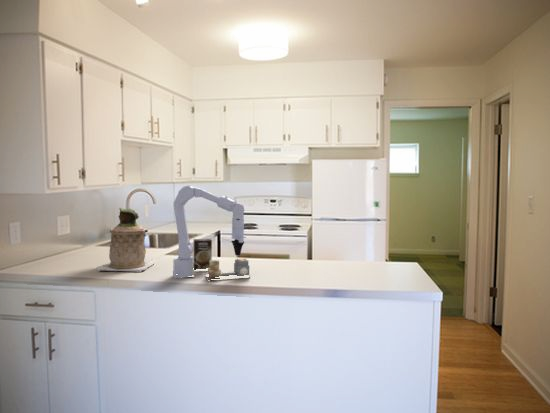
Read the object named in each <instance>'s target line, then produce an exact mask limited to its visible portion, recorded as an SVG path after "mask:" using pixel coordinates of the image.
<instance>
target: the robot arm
mask: <svg viewBox="0 0 550 413" xmlns="http://www.w3.org/2000/svg"><path fill="white" fill-rule="evenodd" d="M193 198H203V199H205V200H208V201H209V202H213V203H215V204H216V205H217V207H218V208H220V209H222V210H225V211H226V212H229V213H231V212H232V218H231V239H233V240H231V241H230V242H231V243H232V246H233V251H234V255H235V256H241V252H242V248H243V246H244V244H245V241H244V240H245V239H246V238H247V236H246V235H245V233H244V232H245V218H244V217H245V216H244V215H245V208H244V205H243V204H242V203H241V202H238V201H237V200H233V199H230V198H229V196H226V195H225V196H224V195H221V196H220V197H219V196H217V195H215V194H214V193H211V192H209V191H207V190H204V189H202V188H199V187H196V186H193V185H186V186H183V187H182V188H181V189H179V190H178V192H177V195H176V197H175V199H174V201H173V209H174V216H175V223H176V230H177V236H178V237H177V238H178V249H177V258H174V259H173V261H172V262H173V263H172V267H173V268H172V269H173V270H172V275H174V276H173V278H174V279H175V278H179V279H182V278H181V277H188V276H192V275H193V274H194V270H193V256H192V254H193V246H192V244H191V242H190V237H189V231H188V224H187V218H186V217H187V216H186V210H185V206H186V204H187V203H188V201H189V200H191V199H193ZM176 274H178V275H176Z"/></svg>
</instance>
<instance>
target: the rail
mask: <svg viewBox="0 0 550 413" xmlns="http://www.w3.org/2000/svg"><path fill="white" fill-rule="evenodd" d="M229 275H236V272H235V271H234V270H233V271H223V272H222V271H221V275H214V276H210V273H209V277H219V276H229Z"/></svg>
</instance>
